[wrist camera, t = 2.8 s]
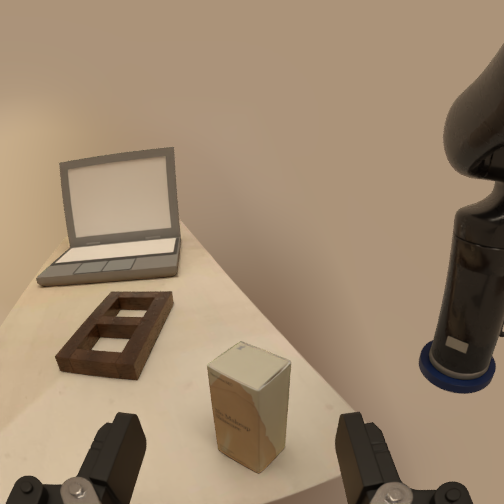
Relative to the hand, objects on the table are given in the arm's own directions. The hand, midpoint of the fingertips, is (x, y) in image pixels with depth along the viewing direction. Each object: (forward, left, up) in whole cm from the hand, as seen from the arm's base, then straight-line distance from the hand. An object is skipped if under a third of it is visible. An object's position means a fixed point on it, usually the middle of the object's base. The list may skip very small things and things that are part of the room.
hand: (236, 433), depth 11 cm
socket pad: (+8, -38, -16) cm, 42 cm away
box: (-4, -11, -16) cm, 20 cm away
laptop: (+11, -75, -16) cm, 77 cm away
